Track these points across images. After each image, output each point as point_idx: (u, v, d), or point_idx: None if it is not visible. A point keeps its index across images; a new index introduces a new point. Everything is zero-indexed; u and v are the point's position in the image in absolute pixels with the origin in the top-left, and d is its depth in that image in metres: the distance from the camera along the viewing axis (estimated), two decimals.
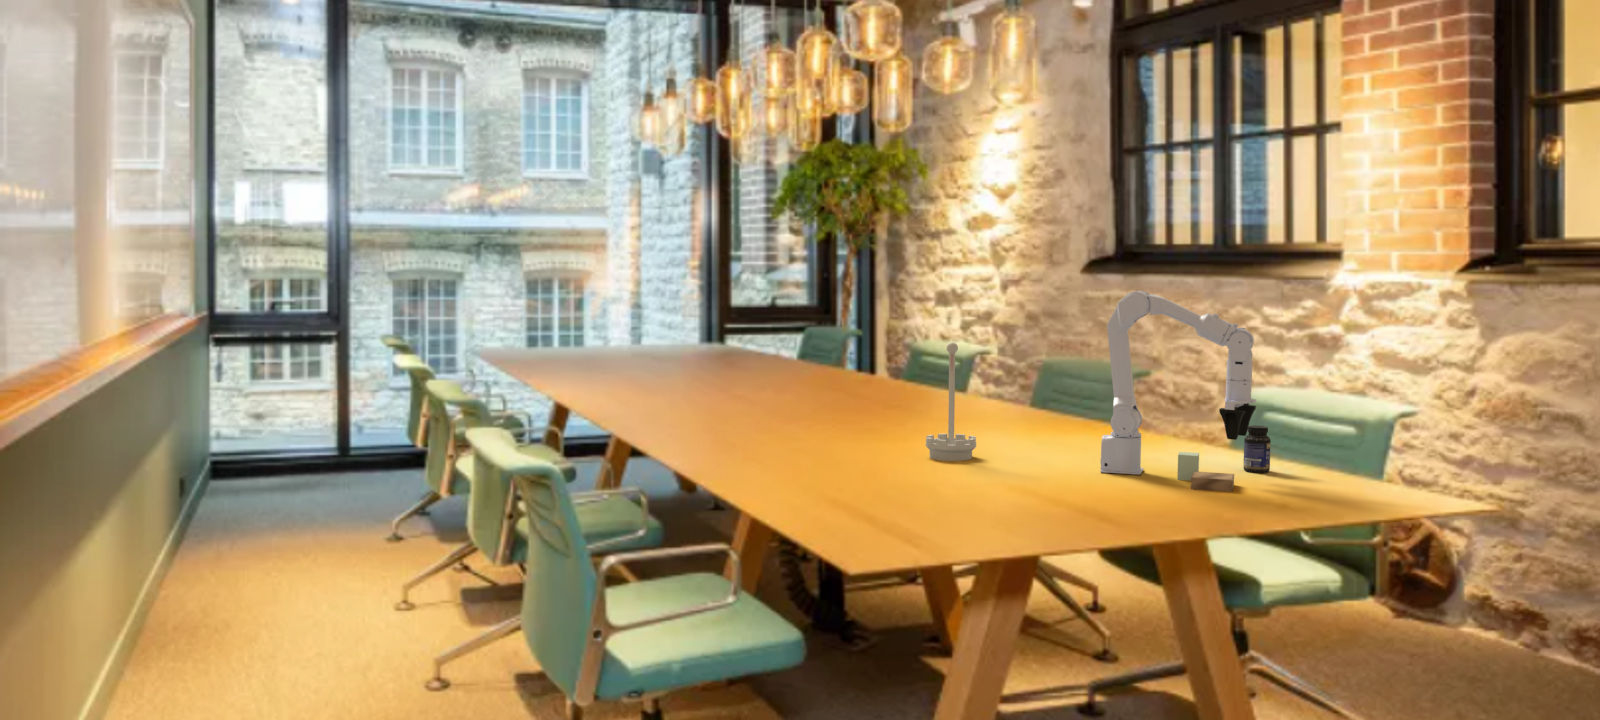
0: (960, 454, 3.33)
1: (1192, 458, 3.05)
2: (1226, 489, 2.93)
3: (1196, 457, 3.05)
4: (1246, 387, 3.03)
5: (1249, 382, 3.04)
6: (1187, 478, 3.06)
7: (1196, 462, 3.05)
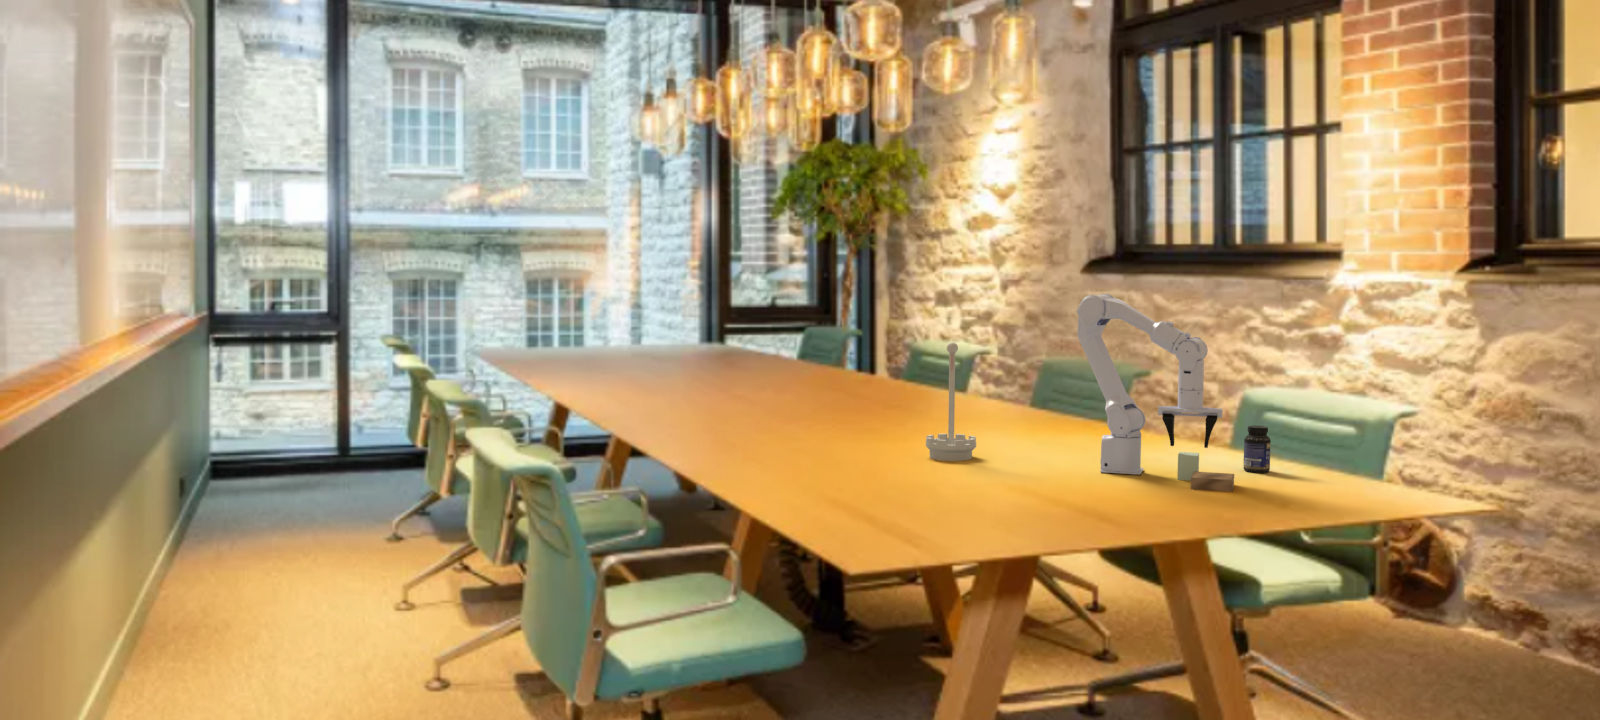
0: (960, 454, 3.33)
1: (1192, 458, 3.05)
2: (1226, 489, 2.93)
3: (1196, 457, 3.05)
4: (1181, 395, 3.05)
5: (1185, 391, 3.04)
6: (1187, 478, 3.06)
7: (1196, 462, 3.05)
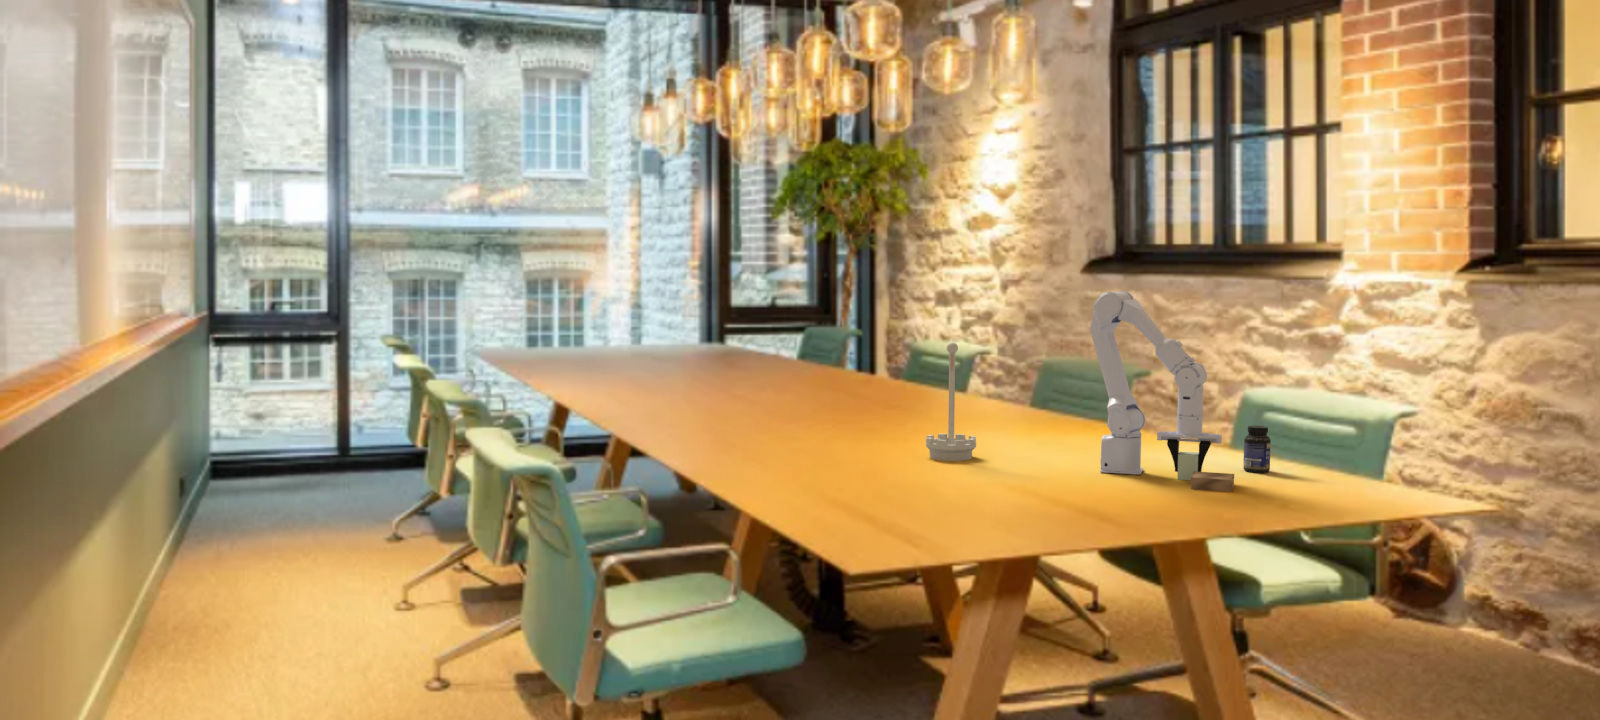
0: (960, 454, 3.33)
1: (1192, 457, 3.05)
2: (1226, 489, 2.93)
3: (1196, 457, 3.05)
4: (1181, 421, 3.06)
5: (1185, 417, 3.05)
6: (1187, 478, 3.06)
7: (1196, 462, 3.05)
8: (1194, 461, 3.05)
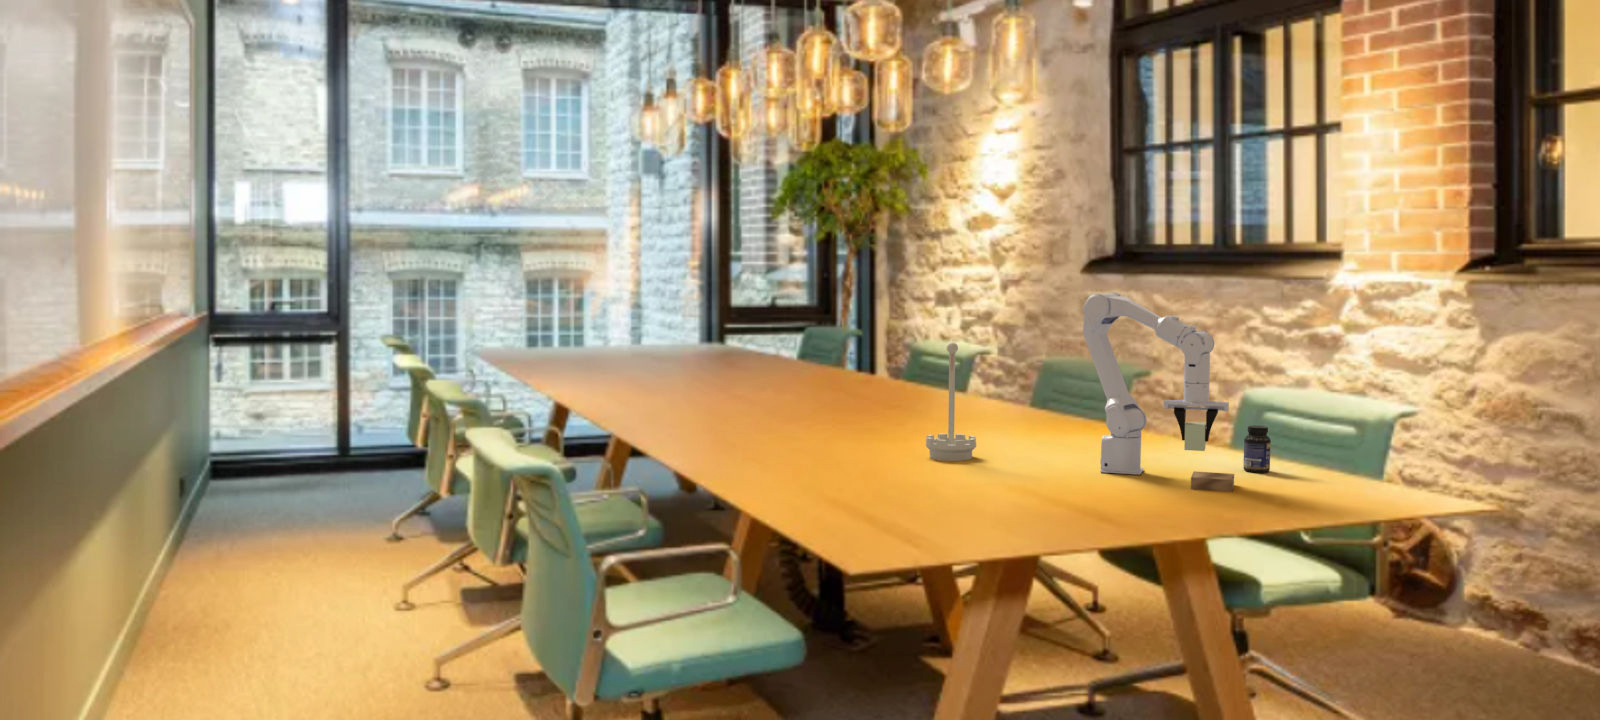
0: (960, 454, 3.33)
1: (1199, 427, 3.02)
2: (1226, 489, 2.93)
3: (1203, 427, 3.02)
4: (1187, 389, 3.03)
5: (1191, 385, 3.02)
6: (1194, 448, 3.03)
7: (1203, 432, 3.02)
8: (1201, 431, 3.02)
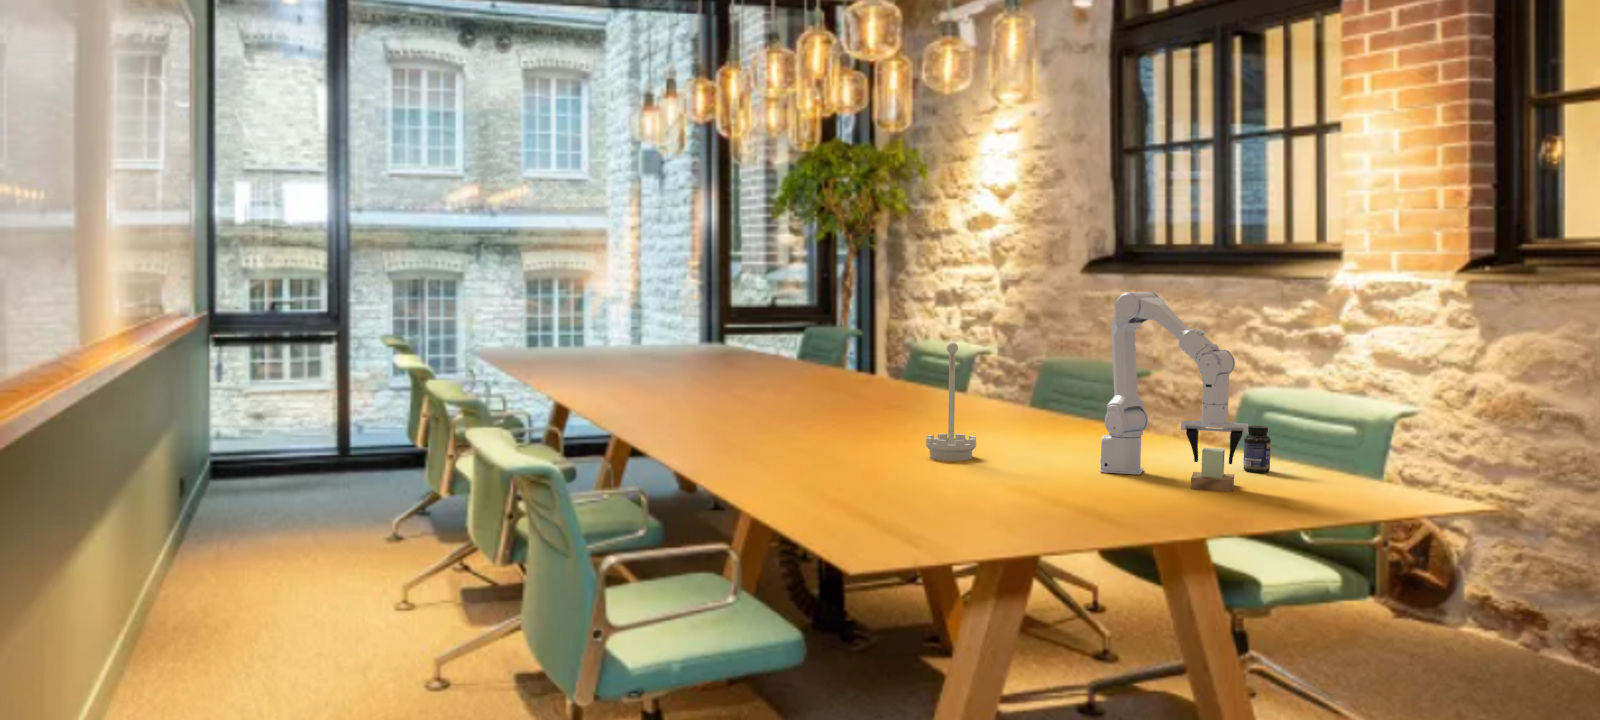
0: (960, 454, 3.33)
1: (1217, 454, 2.95)
2: (1226, 489, 2.93)
3: (1221, 453, 2.94)
4: (1206, 410, 2.95)
5: (1210, 406, 2.94)
6: (1211, 475, 2.96)
7: (1221, 458, 2.95)
8: (1219, 458, 2.95)
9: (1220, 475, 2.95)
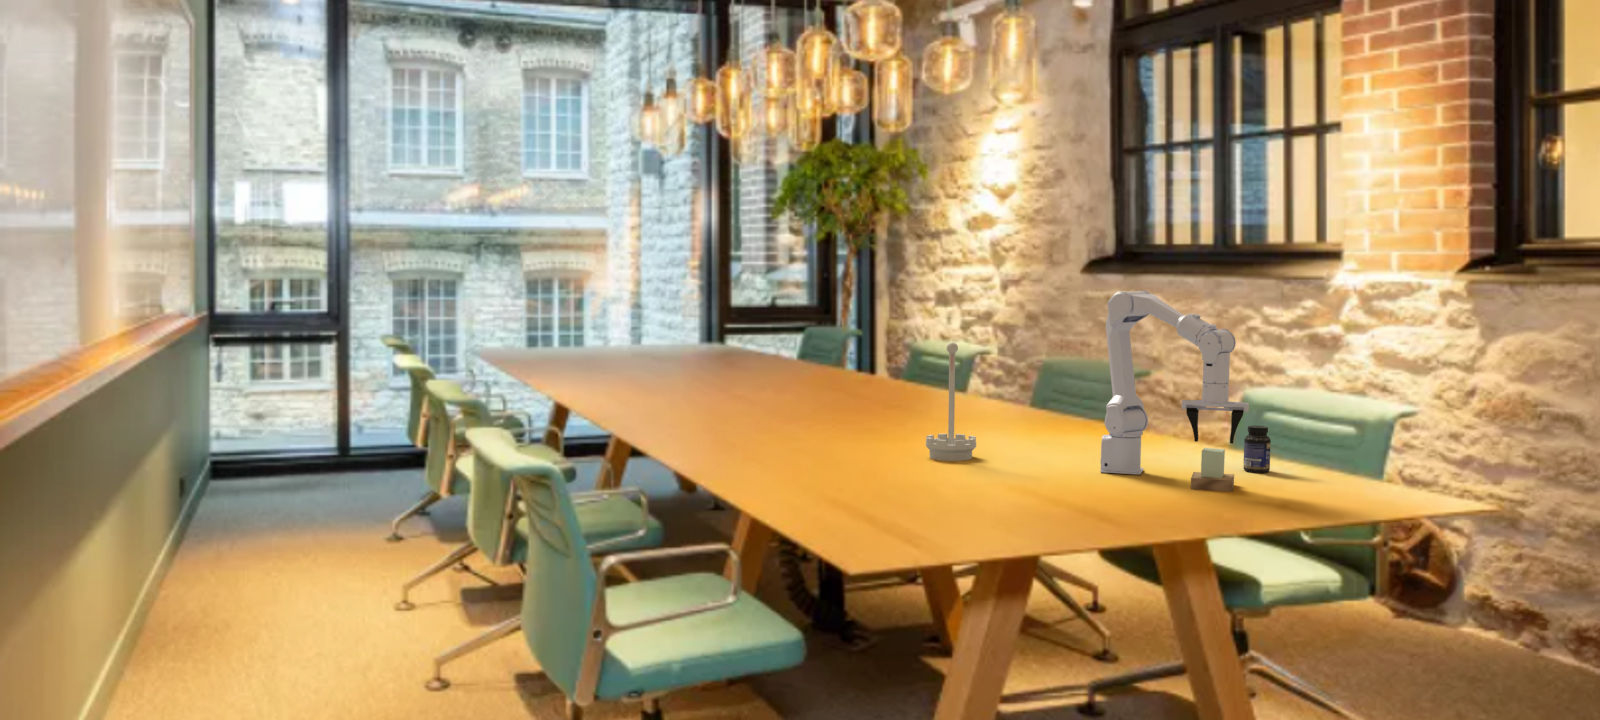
0: (960, 454, 3.33)
1: (1216, 454, 2.95)
2: (1226, 490, 2.93)
3: (1220, 453, 2.94)
4: (1206, 389, 2.94)
5: (1211, 385, 2.94)
6: (1211, 475, 2.96)
7: (1220, 458, 2.95)
8: (1218, 458, 2.95)
9: (1219, 475, 2.95)
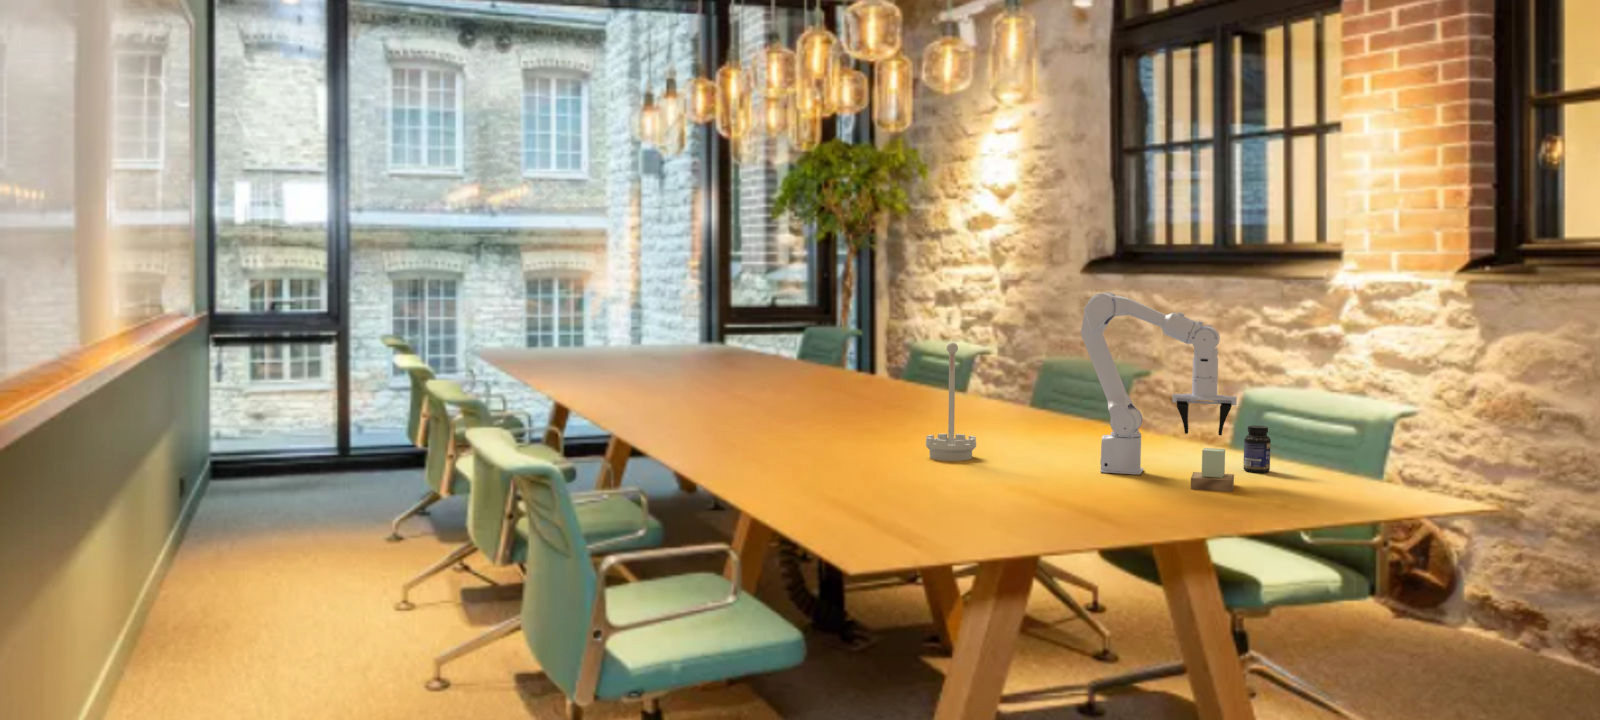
0: (960, 454, 3.33)
1: (1217, 453, 2.95)
2: (1226, 490, 2.92)
3: (1221, 453, 2.94)
4: (1196, 383, 3.07)
5: (1200, 379, 3.06)
6: (1212, 475, 2.95)
7: (1221, 458, 2.94)
8: (1219, 457, 2.95)
9: (1220, 475, 2.95)
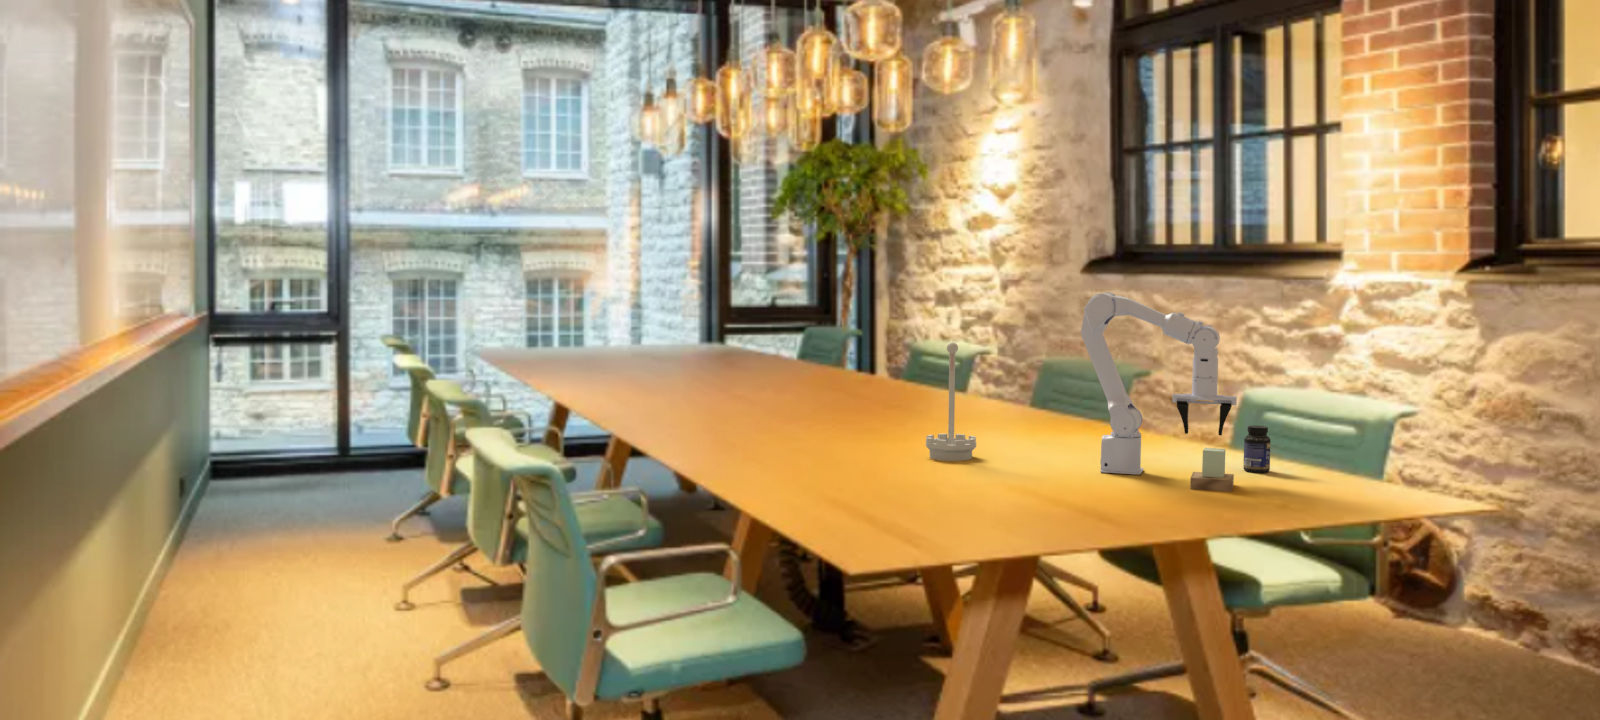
0: (960, 454, 3.33)
1: (1217, 453, 2.95)
2: (1225, 489, 2.92)
3: (1221, 453, 2.95)
4: (1196, 383, 3.07)
5: (1200, 379, 3.06)
6: (1212, 475, 2.96)
7: (1221, 458, 2.95)
8: (1219, 457, 2.95)
9: (1221, 475, 2.95)
